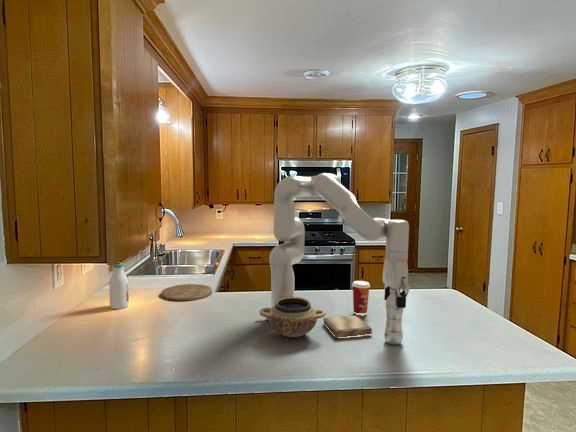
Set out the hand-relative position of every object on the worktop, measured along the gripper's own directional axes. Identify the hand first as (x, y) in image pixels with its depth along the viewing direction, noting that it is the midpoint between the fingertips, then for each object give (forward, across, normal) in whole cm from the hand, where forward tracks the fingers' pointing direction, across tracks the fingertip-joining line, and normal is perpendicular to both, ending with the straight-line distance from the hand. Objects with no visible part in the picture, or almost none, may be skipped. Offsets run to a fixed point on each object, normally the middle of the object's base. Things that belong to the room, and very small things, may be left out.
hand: (394, 303), depth 129 cm
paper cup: (+15, -30, +1) cm, 33 cm away
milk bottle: (+15, -60, -103) cm, 120 cm away
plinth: (+14, -14, -12) cm, 23 cm away
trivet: (+15, -75, -74) cm, 106 cm away
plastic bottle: (+15, 0, 0) cm, 15 cm away
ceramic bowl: (+15, -13, -34) cm, 39 cm away
